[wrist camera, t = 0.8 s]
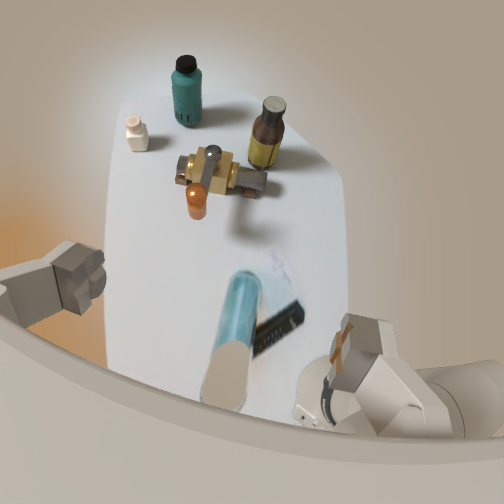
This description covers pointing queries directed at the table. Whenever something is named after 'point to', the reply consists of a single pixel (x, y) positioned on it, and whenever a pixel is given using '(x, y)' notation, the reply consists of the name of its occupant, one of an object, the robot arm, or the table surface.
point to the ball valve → (220, 174)
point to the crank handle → (202, 184)
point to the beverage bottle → (187, 91)
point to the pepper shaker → (136, 134)
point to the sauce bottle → (267, 134)
